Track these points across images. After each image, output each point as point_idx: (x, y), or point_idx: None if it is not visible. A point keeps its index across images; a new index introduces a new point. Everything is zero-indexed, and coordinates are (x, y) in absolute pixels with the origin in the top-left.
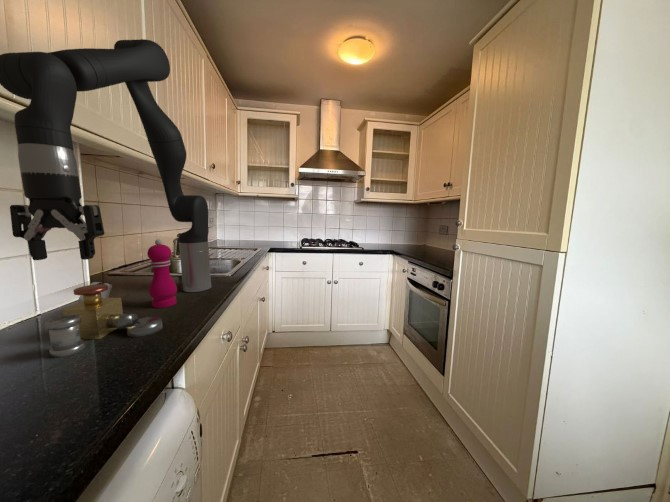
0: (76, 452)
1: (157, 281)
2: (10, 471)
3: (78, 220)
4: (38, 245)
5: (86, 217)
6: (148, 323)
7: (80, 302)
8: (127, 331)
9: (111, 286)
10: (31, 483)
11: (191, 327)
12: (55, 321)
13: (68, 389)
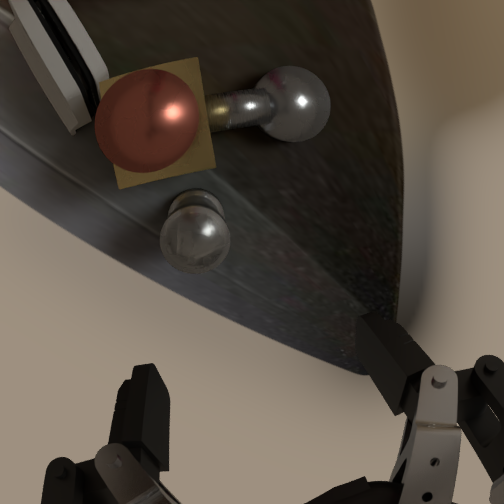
0: None
1: None
2: (352, 370)
3: (430, 494)
4: (161, 439)
5: (498, 476)
6: (308, 109)
7: (75, 100)
8: (268, 134)
9: None
10: None
11: (379, 91)
12: (194, 258)
13: (313, 302)
